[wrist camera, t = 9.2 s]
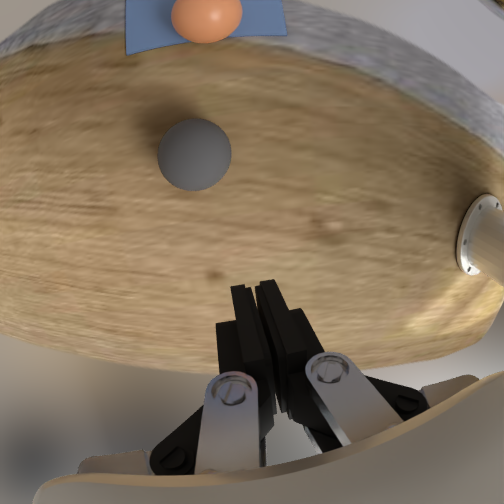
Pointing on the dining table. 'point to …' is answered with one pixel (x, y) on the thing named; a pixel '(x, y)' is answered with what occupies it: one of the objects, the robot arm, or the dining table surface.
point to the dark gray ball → (194, 154)
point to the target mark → (164, 34)
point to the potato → (501, 2)
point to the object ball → (206, 19)
